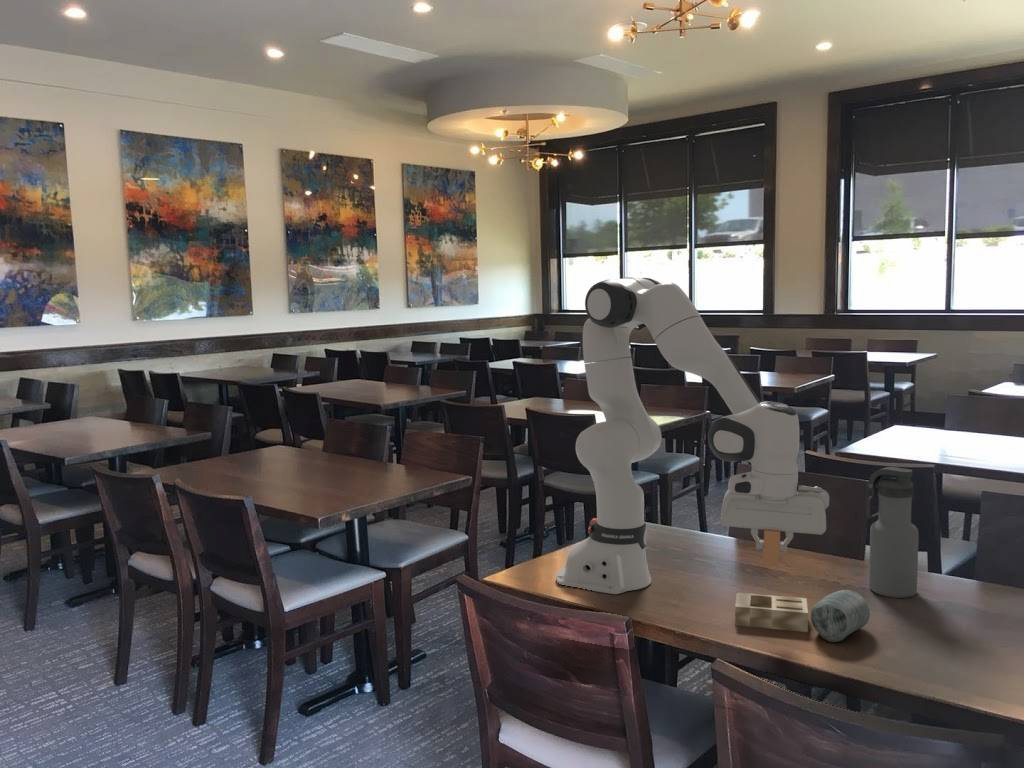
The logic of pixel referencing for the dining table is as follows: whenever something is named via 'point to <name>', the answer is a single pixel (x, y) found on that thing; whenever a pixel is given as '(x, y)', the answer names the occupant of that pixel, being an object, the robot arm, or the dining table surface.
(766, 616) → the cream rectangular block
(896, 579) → the water bottle
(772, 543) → the orange rectangular block
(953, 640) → the dining table surface
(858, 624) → the spool
